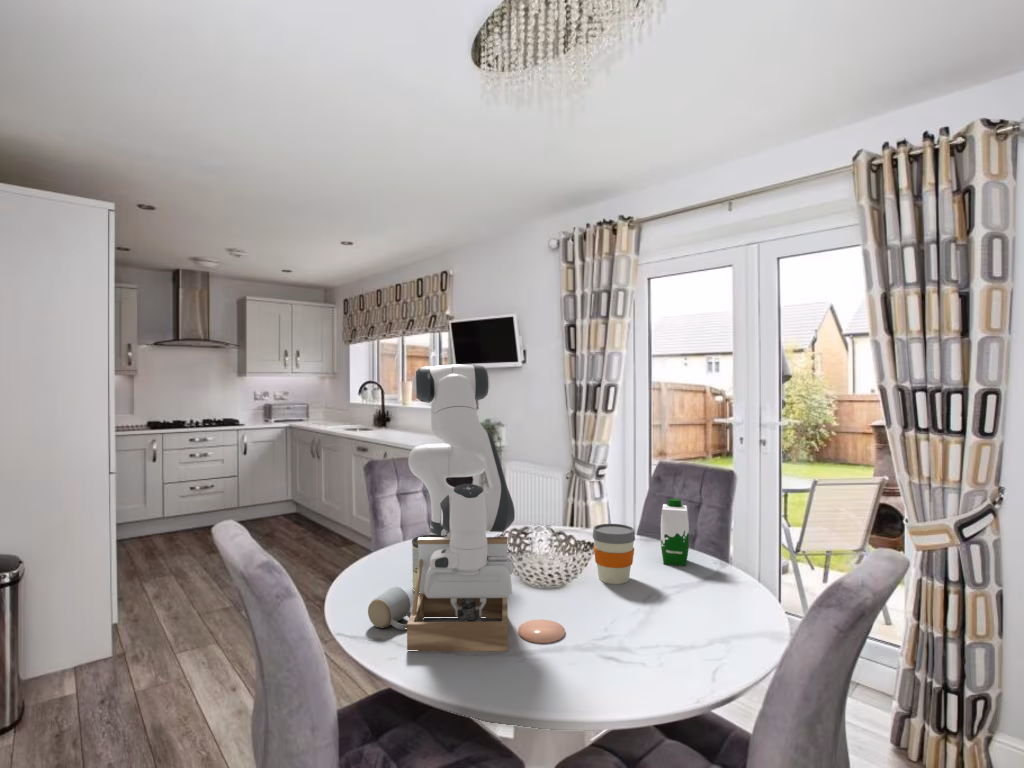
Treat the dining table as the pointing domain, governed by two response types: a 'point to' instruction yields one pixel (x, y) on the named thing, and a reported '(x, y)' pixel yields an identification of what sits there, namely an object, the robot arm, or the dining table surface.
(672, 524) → the milk carton
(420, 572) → the propped lid
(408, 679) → the dining table surface
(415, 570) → the coffee can
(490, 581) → the robot arm
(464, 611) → the dark grey turned piece
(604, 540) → the reusable coffee cup
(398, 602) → the ceramic mug
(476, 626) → the cold frame
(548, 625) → the glossy peach disc
